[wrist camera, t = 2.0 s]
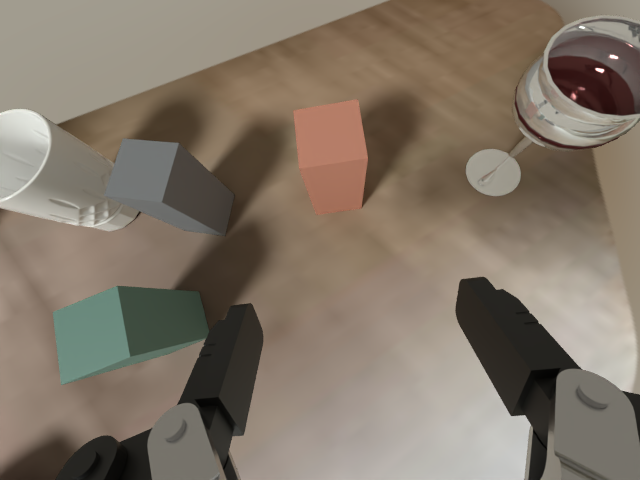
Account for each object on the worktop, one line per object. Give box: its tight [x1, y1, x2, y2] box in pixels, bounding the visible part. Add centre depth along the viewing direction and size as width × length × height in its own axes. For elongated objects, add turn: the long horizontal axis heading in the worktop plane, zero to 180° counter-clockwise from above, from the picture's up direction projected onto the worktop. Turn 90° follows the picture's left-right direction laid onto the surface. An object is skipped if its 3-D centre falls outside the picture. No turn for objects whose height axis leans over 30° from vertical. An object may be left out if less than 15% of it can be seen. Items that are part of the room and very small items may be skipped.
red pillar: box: [293, 99, 368, 215], centre depth 22 cm, size 4×4×10 cm
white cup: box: [0, 109, 139, 231], centre depth 25 cm, size 8×8×10 cm
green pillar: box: [53, 286, 209, 385], centre depth 21 cm, size 4×4×10 cm
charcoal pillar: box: [104, 139, 234, 236], centre depth 23 cm, size 4×4×10 cm
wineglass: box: [466, 15, 640, 196], centre depth 20 cm, size 7×7×12 cm
